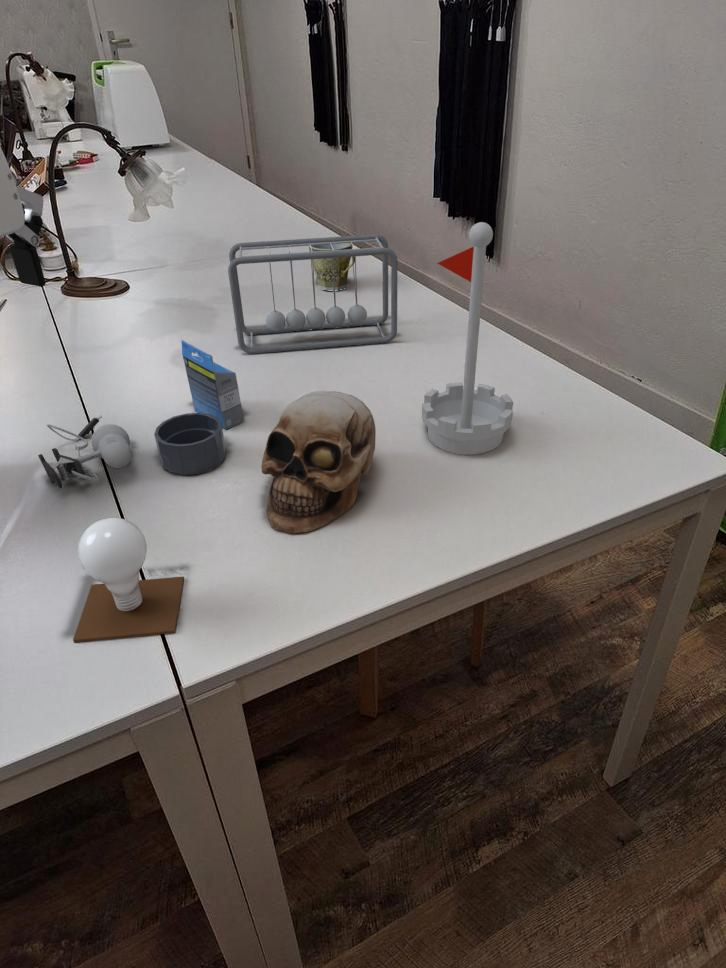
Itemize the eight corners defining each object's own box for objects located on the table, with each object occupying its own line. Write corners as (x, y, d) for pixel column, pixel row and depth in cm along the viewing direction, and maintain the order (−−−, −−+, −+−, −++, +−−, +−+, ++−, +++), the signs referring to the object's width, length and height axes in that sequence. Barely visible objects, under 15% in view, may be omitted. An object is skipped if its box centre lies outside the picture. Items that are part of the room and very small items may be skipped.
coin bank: (271, 538, 78) (261, 435, 71) (257, 473, 92) (248, 383, 86) (397, 520, 81) (399, 420, 74) (365, 460, 95) (364, 372, 89)
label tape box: (245, 421, 101) (234, 347, 94) (223, 431, 99) (211, 356, 92) (213, 403, 106) (201, 331, 99) (192, 412, 104) (178, 339, 97)
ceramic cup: (302, 287, 153) (299, 243, 147) (335, 277, 158) (333, 235, 153) (338, 300, 145) (336, 255, 139) (371, 290, 150) (370, 245, 145)
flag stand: (511, 417, 100) (536, 211, 83) (508, 462, 90) (537, 238, 73) (426, 410, 103) (434, 208, 86) (415, 454, 92) (421, 234, 75)
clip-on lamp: (48, 463, 98) (55, 502, 83) (29, 424, 95) (34, 458, 80) (125, 435, 102) (145, 468, 87) (109, 398, 99) (128, 425, 84)
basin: (157, 479, 89) (149, 448, 86) (166, 444, 96) (159, 415, 93) (224, 474, 89) (218, 443, 87) (228, 440, 97) (223, 410, 94)
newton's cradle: (387, 323, 133) (387, 232, 123) (397, 342, 125) (398, 247, 115) (240, 334, 130) (227, 243, 120) (239, 355, 122) (226, 259, 112)
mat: (73, 642, 65) (72, 640, 65) (92, 587, 72) (91, 584, 72) (175, 633, 66) (174, 630, 66) (184, 578, 73) (183, 576, 72)
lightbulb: (173, 604, 69) (151, 523, 62) (118, 638, 65) (89, 555, 59) (141, 576, 72) (117, 497, 66) (88, 607, 69) (57, 526, 62)
